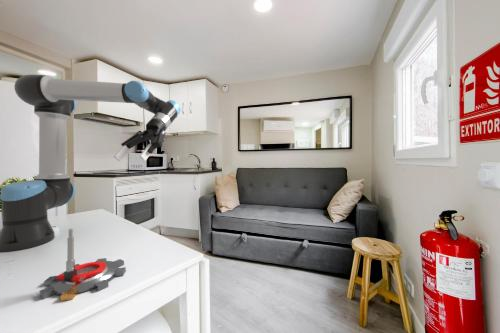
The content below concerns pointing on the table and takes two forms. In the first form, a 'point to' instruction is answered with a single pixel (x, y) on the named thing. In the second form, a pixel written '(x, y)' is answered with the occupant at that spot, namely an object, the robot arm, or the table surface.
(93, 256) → the table surface
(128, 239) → the table surface
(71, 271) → the tow hook
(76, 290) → the sprocket plate
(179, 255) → the table surface
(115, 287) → the table surface
